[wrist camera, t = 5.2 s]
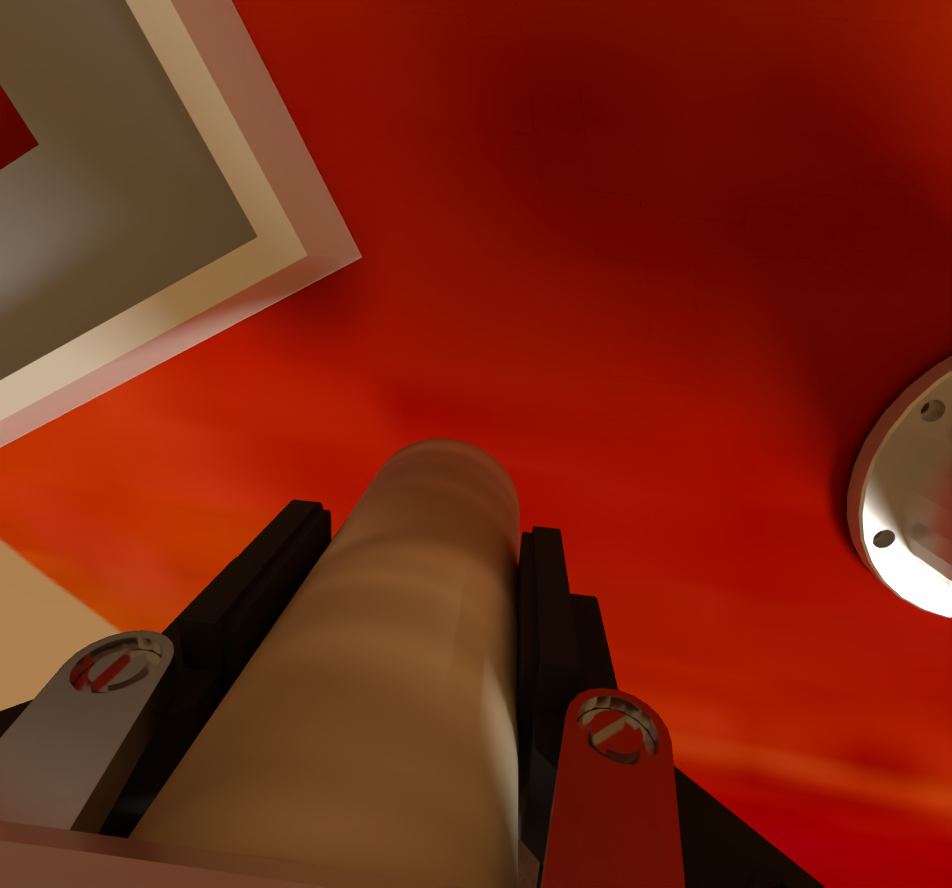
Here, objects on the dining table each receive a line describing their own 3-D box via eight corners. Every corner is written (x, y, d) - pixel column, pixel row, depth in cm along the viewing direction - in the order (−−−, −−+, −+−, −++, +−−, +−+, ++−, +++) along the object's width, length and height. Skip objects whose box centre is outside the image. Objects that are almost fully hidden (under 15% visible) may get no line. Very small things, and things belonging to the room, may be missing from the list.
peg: (480, 413, 13) (375, 801, 4) (543, 545, 14) (589, 1108, 5) (343, 473, 14) (-31, 913, 4) (412, 592, 15) (228, 1154, 6)
